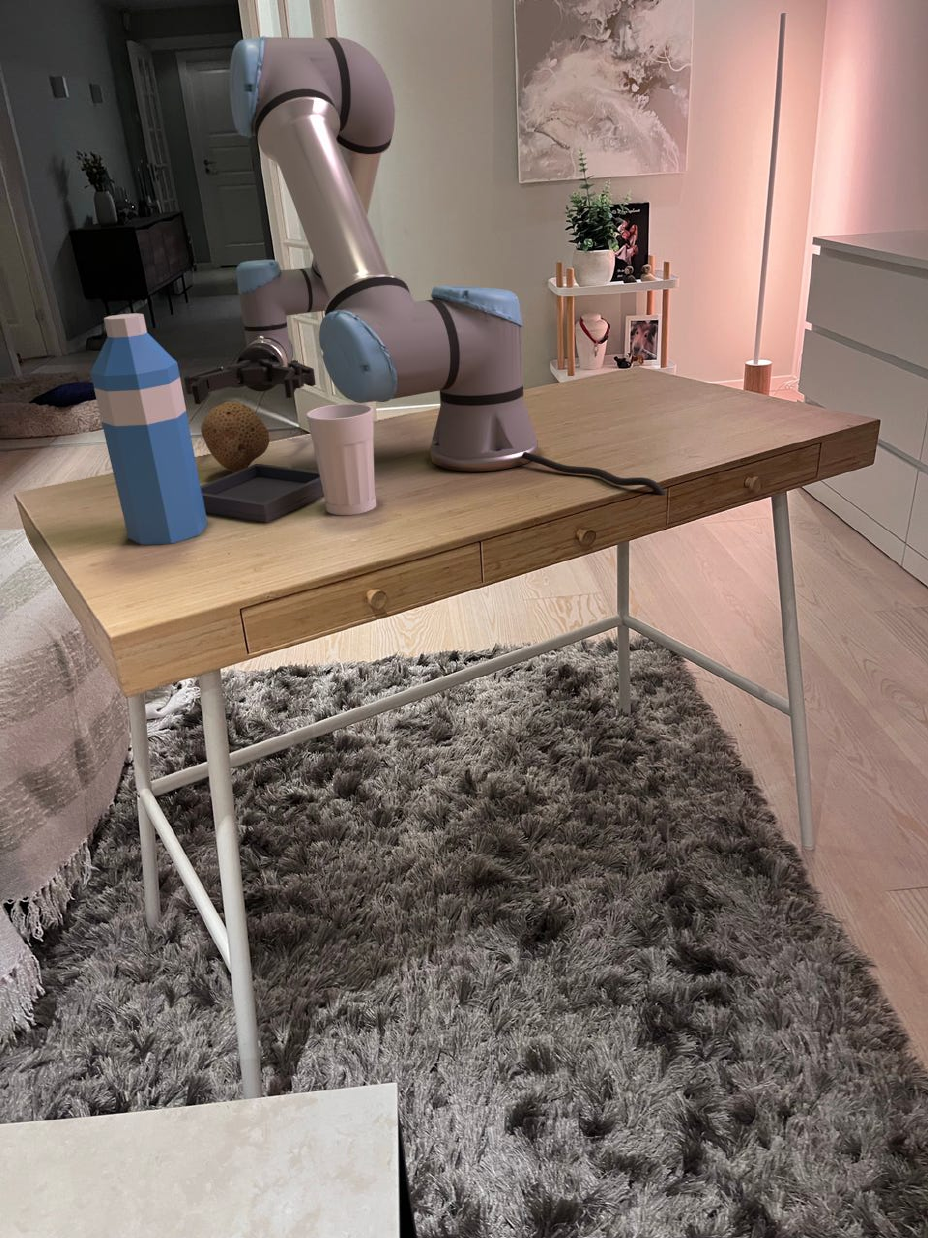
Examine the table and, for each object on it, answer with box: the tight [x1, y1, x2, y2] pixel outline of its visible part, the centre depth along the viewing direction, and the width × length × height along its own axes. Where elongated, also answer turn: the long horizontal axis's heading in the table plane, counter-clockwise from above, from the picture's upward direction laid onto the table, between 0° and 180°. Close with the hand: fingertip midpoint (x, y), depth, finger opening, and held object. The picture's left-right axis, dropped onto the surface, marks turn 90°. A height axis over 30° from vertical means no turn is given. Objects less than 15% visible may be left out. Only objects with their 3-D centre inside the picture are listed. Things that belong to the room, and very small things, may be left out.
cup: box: [306, 403, 377, 516], centre depth 115 cm, size 8×8×12 cm
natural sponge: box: [200, 400, 270, 473], centre depth 133 cm, size 9×9×10 cm
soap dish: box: [200, 463, 324, 524], centre depth 122 cm, size 14×14×2 cm
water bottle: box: [90, 312, 209, 546], centre depth 108 cm, size 9×9×25 cm
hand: (241, 391), depth 140 cm, fingers open, 13 cm apart
